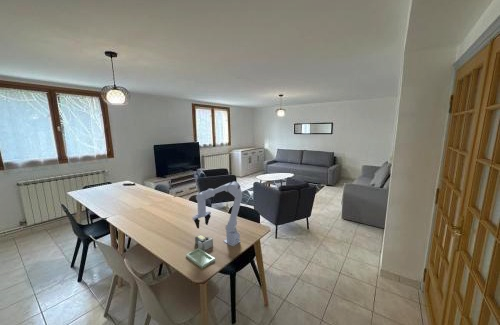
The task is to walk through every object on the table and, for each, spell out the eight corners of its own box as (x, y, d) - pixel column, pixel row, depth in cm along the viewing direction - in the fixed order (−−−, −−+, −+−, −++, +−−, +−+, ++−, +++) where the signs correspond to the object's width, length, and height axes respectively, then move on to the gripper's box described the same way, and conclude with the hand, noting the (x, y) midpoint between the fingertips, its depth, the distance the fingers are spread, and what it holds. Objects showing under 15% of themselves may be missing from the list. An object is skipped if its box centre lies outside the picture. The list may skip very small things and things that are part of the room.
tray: (215, 260, 123) (214, 258, 123) (202, 268, 116) (201, 266, 116) (198, 250, 134) (198, 247, 134) (186, 256, 127) (185, 254, 127)
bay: (212, 246, 139) (212, 238, 138) (203, 251, 133) (203, 243, 132) (207, 243, 143) (207, 235, 142) (198, 247, 137) (197, 239, 136)
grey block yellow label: (208, 245, 140) (208, 238, 139) (202, 248, 136) (202, 241, 135) (200, 241, 146) (200, 233, 145) (195, 243, 142) (195, 236, 141)
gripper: (206, 204, 153) (207, 221, 155) (189, 210, 143) (190, 227, 145) (212, 207, 149) (212, 224, 151) (195, 212, 138) (196, 231, 140)
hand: (202, 226), depth 147 cm, fingers open, 7 cm apart
